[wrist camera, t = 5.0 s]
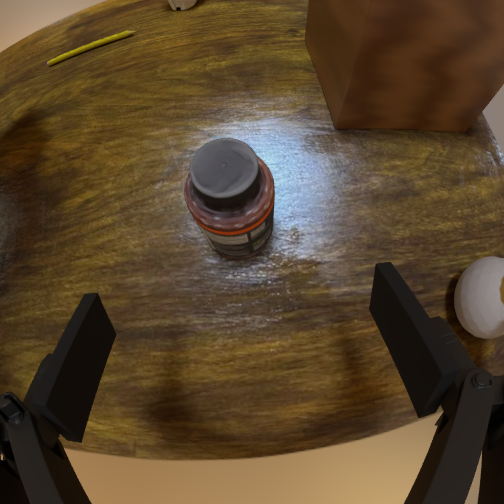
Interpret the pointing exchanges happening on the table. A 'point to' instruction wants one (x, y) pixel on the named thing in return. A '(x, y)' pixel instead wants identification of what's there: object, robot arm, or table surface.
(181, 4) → the white toy rocket
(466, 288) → the perfume bottle
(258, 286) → the table surface
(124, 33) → the pencil
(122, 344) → the table surface
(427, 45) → the stand
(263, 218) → the supplement bottle
